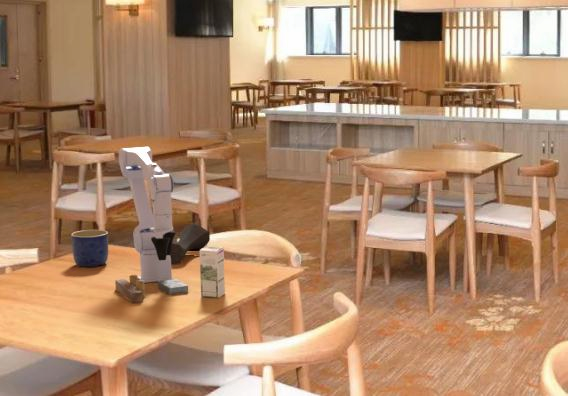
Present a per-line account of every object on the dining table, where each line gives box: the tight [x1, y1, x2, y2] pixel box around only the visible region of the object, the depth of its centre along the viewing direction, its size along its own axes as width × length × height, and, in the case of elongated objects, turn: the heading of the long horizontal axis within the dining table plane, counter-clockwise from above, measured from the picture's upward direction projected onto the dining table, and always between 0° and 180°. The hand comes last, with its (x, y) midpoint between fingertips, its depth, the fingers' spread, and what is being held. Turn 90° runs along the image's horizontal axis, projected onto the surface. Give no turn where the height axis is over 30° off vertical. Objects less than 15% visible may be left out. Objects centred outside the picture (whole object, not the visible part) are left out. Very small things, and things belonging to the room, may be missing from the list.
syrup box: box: [199, 245, 226, 299], centre depth 299 cm, size 6×6×14 cm
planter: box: [70, 229, 109, 268], centre depth 343 cm, size 12×12×11 cm
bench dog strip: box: [114, 274, 146, 304], centre depth 302 cm, size 5×18×5 cm, turn 25°
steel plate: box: [157, 278, 189, 296], centre depth 308 cm, size 6×10×2 cm, turn 27°
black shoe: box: [170, 223, 211, 265], centre depth 355 cm, size 11×10×28 cm
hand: (164, 257), depth 309 cm, fingers open, 7 cm apart
